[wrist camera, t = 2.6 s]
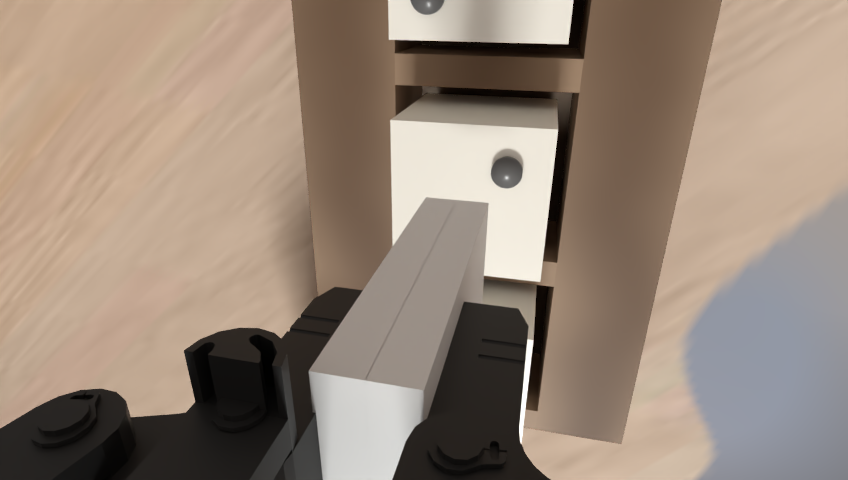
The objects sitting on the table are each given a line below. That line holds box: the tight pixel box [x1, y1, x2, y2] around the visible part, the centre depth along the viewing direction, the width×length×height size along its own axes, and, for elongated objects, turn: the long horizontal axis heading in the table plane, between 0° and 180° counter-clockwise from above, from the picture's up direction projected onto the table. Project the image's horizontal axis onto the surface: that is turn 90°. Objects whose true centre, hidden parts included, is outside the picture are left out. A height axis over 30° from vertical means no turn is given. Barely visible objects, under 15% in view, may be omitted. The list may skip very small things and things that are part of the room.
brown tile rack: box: [292, 0, 722, 444], centre depth 20 cm, size 13×22×4 cm, turn 0°
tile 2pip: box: [390, 93, 558, 282], centre depth 18 cm, size 5×5×5 cm
